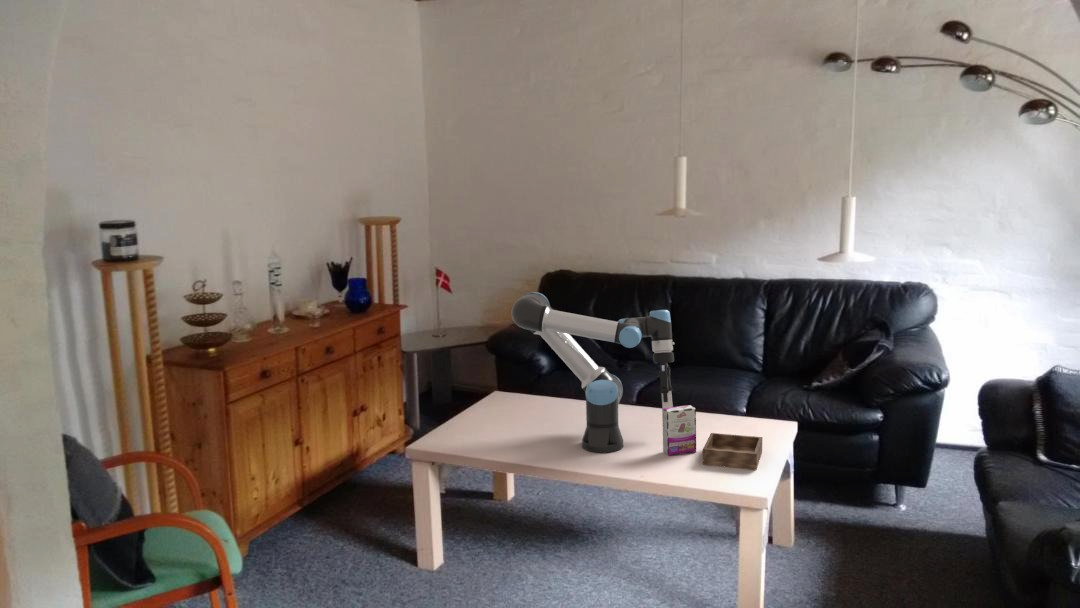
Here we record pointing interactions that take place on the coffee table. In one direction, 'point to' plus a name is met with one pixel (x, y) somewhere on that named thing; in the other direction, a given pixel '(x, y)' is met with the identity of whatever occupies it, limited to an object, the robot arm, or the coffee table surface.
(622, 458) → the coffee table surface
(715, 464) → the walnut holder
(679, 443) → the candy bar box
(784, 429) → the coffee table surface
